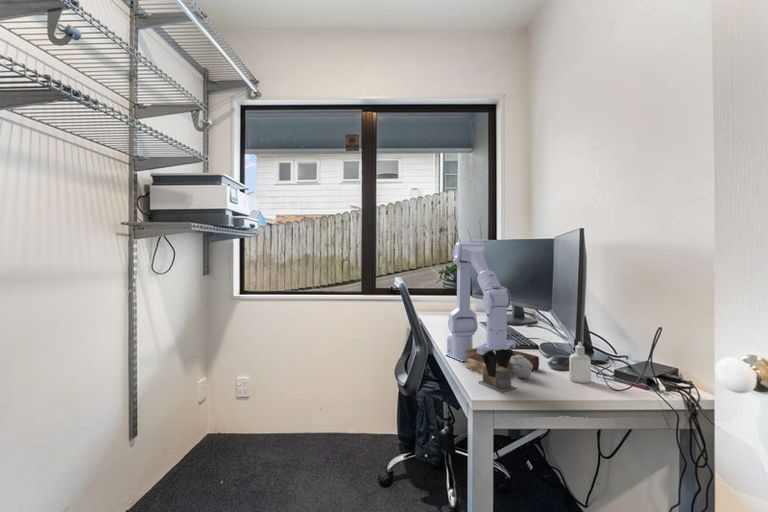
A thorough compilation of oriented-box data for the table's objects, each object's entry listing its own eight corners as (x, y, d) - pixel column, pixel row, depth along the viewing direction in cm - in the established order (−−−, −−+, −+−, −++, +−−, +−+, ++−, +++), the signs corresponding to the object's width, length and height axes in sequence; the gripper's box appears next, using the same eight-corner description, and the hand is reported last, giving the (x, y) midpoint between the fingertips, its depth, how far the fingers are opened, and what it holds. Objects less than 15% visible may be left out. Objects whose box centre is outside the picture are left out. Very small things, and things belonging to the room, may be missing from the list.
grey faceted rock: (515, 372, 112) (515, 351, 112) (536, 377, 107) (536, 355, 107) (506, 377, 107) (506, 355, 107) (528, 383, 102) (528, 360, 102)
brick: (539, 370, 114) (539, 356, 114) (532, 372, 112) (532, 358, 112) (512, 361, 123) (512, 349, 123) (505, 363, 121) (505, 350, 121)
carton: (465, 367, 116) (465, 350, 116) (496, 360, 124) (496, 343, 124) (491, 377, 107) (491, 359, 107) (523, 369, 115) (523, 351, 115)
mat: (478, 382, 103) (478, 381, 103) (491, 378, 106) (491, 377, 106) (502, 392, 95) (502, 391, 95) (516, 388, 98) (516, 387, 98)
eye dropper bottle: (589, 385, 100) (589, 345, 100) (568, 381, 104) (568, 342, 104) (591, 381, 104) (591, 342, 104) (571, 377, 107) (570, 339, 107)
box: (482, 382, 103) (482, 365, 103) (492, 379, 105) (492, 363, 105) (501, 389, 97) (501, 372, 97) (510, 387, 99) (510, 369, 99)
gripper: (490, 334, 93) (490, 383, 93) (523, 328, 101) (524, 374, 101) (471, 330, 99) (471, 376, 99) (504, 324, 107) (504, 367, 107)
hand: (496, 374), depth 101 cm, fingers closed on box, 4 cm apart
